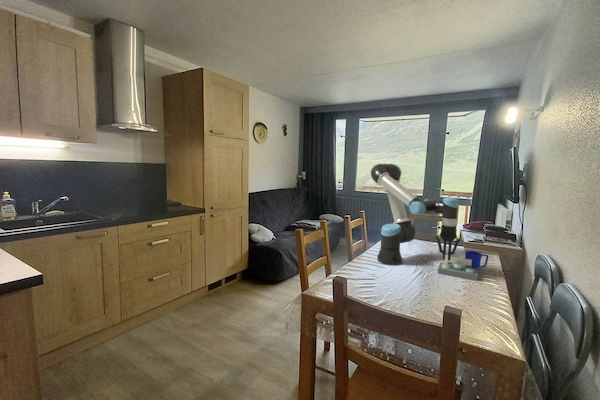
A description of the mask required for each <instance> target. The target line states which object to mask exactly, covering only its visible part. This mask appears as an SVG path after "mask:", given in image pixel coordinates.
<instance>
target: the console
mask: <svg viewBox="0 0 600 400" xmlns="http://www.w3.org/2000/svg"><path fill="white" fill-rule="evenodd" d="M442 264H445V262H440V261H439V264H438V267H437V274H438V275H439V274H440V275H444V276H450V277H455V278H459V279H466V280H468V281H474V282H478V276H479V275H478V274H479V273H478V270H477V268H471V267H465V266H462V271H461V270H455V269H453V264H448V265H450V269H449V268H444V267H442ZM466 268H470V269H473V270H475V273H472V272H466V271H465V269H466Z"/></svg>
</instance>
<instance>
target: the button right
mask: <svg viewBox="0 0 600 400" xmlns="http://www.w3.org/2000/svg"><path fill="white" fill-rule="evenodd" d="M465 271H466V272H472V273H475V270H473V269H470V268H466V269H465Z"/></svg>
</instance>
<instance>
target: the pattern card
mask: <svg viewBox="0 0 600 400" xmlns="http://www.w3.org/2000/svg"><path fill="white" fill-rule="evenodd" d="M454 263H460V264H462V266H465V267H471V264H472V260H470V259H465V258H463V257H462V258H461V257H455V256H451V257H450V260H448V264H453V265H454Z"/></svg>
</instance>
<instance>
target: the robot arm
mask: <svg viewBox="0 0 600 400" xmlns="http://www.w3.org/2000/svg"><path fill="white" fill-rule="evenodd" d="M401 176H402V170H401V168H400V166H398V165H397V164H394V163H377V164H375V165H373V167H372V168H371V170H370V177H371V179H372V180H373V182H374V183H376V184H377V185H379V186H382V187H384V189H385V190H386V194H387V198H388V201H389V205H390V210H391V213H392V218H393V220H394V221H393V223H386V224H384V225H382V227H381V230H380V248H379V252H378V254H377V258H376V260H377V262H379V263H380V262H381V264H383V263H384V264H383V265H390V266H398V265H401V264H403V257H402V254H401V244H404V243H410V242H412V241H414V240H415V239H416V237H417V236H418V230H417V226H415V224H413V223H412V221H411V219H409V218H408V215H407V212H406V207H405V205H406V206H407V207H409V208H408V209H409V211H410V213H411V214H412V215H415V216H416V215H417V216H422V215H425V214H441V228H440V233H439V234H438V235H436V236H435V239H436V241H437V246H438V250H439V253H441V254H442V260H444V263H445V264H444V266H447V265H448V260H450V257H452V256H451V255H455V252H456V250H457V248H458V245H459V243H460V242H461V237H458V236H457V225H458V223H457V222H458V212H459V211H458V210H459V200H458V199H457V198H454V197H444V198H443V199H442V200H437V199H427V198H426V199H424V200H422V199H420V197H418V196H417V195H415V194H414V193H413V192H412V191H410V190H409V189H407V188H406V187H405V186H403V185H402V184H401V183H400V182H401V180H400V179H401ZM441 239H442V241H443V247H442V242H441ZM454 240H455V244H454V245H453V249H452V242H453V241H454ZM447 242H448V251H447ZM446 251H447V253H446Z"/></svg>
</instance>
